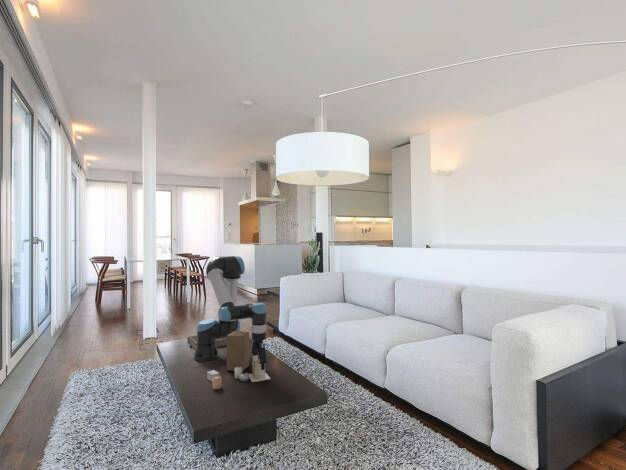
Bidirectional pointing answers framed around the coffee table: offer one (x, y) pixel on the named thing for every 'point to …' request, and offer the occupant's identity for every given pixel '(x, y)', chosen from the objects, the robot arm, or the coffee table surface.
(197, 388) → the coffee table surface
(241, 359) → the wooden block
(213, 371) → the grey box
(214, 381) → the peach capsule
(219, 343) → the book
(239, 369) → the grey rounded cylinder
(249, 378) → the coaster
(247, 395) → the coffee table surface
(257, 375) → the maple block
